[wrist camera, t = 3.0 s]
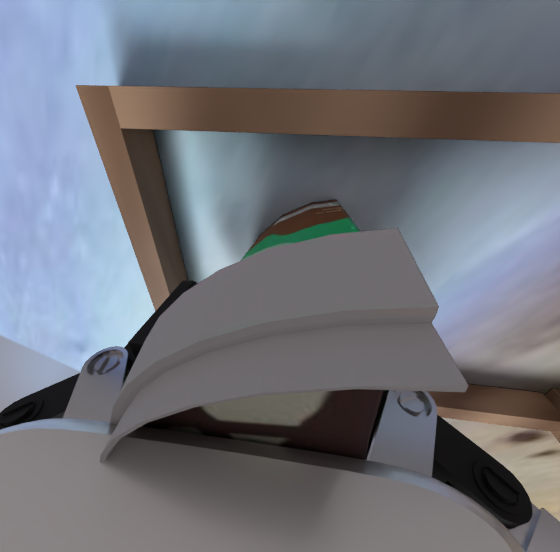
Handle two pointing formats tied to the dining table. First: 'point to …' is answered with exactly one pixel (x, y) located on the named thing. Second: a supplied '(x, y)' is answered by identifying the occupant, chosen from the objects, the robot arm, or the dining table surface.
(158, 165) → the rectangular wooden frame
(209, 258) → the dining table surface
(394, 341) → the food container
